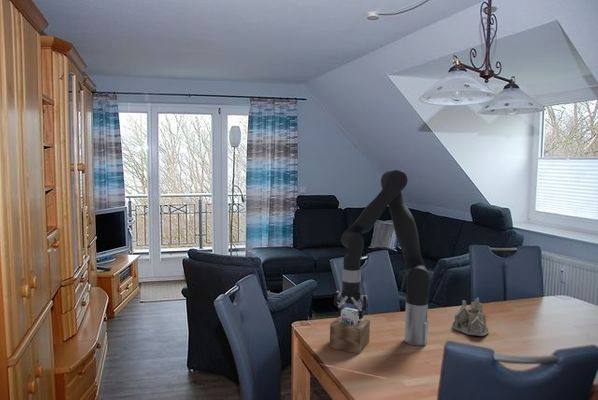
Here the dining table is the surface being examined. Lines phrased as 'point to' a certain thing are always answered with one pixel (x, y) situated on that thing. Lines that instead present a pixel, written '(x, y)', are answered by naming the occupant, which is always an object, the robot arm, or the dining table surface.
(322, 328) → the dining table surface
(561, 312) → the dining table surface
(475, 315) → the ceramic cottage
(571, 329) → the dining table surface
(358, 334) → the box
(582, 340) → the dining table surface
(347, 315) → the syrup box
